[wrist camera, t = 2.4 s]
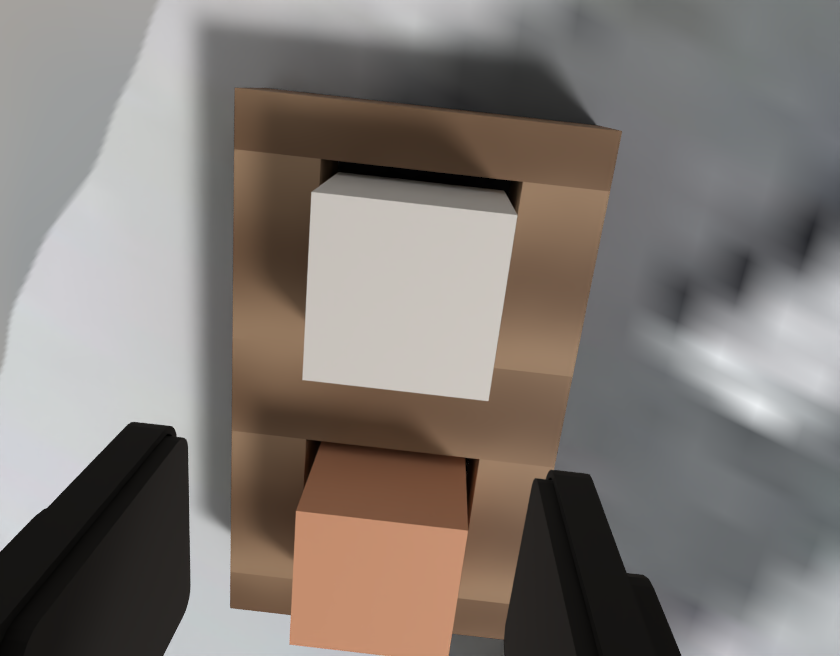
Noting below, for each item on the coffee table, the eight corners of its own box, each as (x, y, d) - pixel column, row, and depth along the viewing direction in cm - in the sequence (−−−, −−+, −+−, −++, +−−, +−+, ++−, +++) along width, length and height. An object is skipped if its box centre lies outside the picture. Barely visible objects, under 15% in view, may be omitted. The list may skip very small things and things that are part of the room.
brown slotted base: (266, 88, 26) (234, 87, 22) (596, 125, 26) (622, 131, 22) (255, 549, 33) (230, 607, 30) (511, 579, 33) (519, 641, 29)
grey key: (338, 171, 24) (311, 191, 19) (504, 190, 24) (517, 214, 19) (329, 327, 26) (302, 379, 21) (481, 344, 26) (488, 401, 21)
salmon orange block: (322, 439, 28) (296, 510, 23) (465, 455, 28) (467, 530, 23) (315, 556, 30) (289, 644, 25) (448, 571, 30) (447, 662, 25)
